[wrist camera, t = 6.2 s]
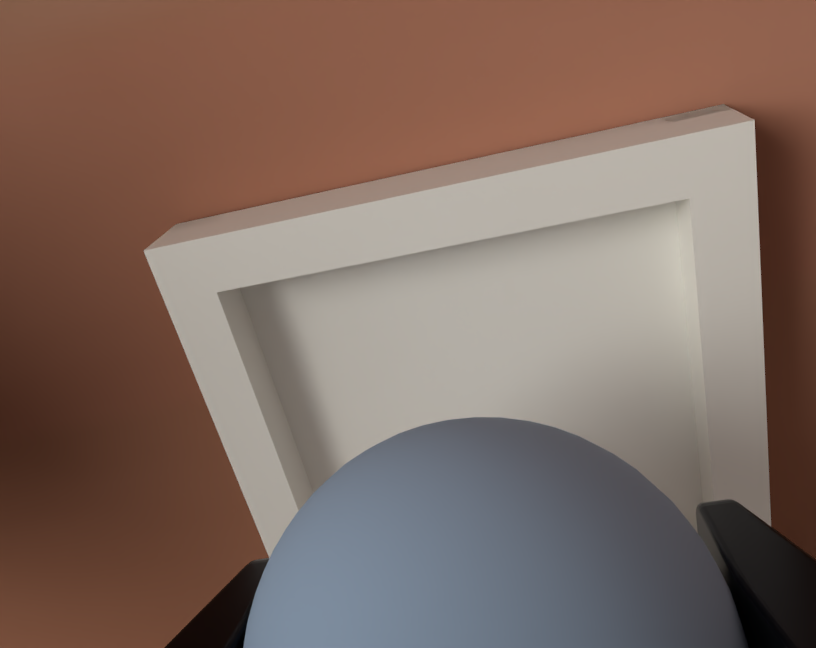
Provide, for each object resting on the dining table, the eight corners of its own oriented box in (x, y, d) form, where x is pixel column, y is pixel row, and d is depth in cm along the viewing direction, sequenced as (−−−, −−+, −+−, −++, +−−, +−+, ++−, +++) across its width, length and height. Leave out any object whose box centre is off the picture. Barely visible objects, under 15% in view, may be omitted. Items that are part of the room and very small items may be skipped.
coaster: (749, 558, 13) (774, 610, 12) (322, 605, 14) (310, 657, 13) (723, 104, 10) (754, 119, 9) (176, 223, 11) (143, 250, 10)
